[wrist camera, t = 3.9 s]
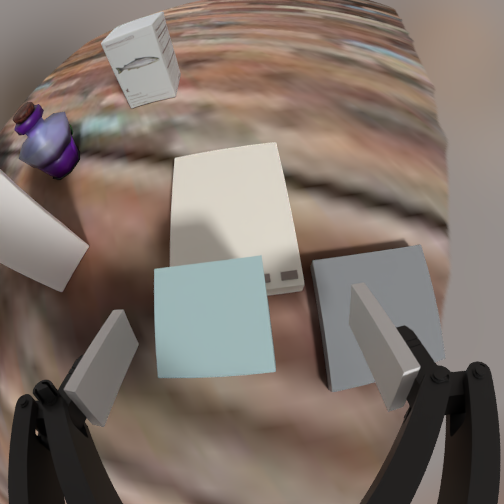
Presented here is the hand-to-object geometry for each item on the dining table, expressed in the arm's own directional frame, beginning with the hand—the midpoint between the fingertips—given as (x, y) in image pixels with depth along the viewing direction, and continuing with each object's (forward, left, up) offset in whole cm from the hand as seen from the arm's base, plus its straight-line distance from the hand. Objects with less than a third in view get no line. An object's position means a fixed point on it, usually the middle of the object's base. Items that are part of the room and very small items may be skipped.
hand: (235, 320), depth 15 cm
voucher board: (-9, +4, -6) cm, 11 cm away
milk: (-17, -14, -6) cm, 22 cm away
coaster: (+5, +9, -6) cm, 12 cm away
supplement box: (-36, +6, -6) cm, 37 cm away
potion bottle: (-32, -11, -6) cm, 34 cm away
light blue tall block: (0, -1, -6) cm, 6 cm away
